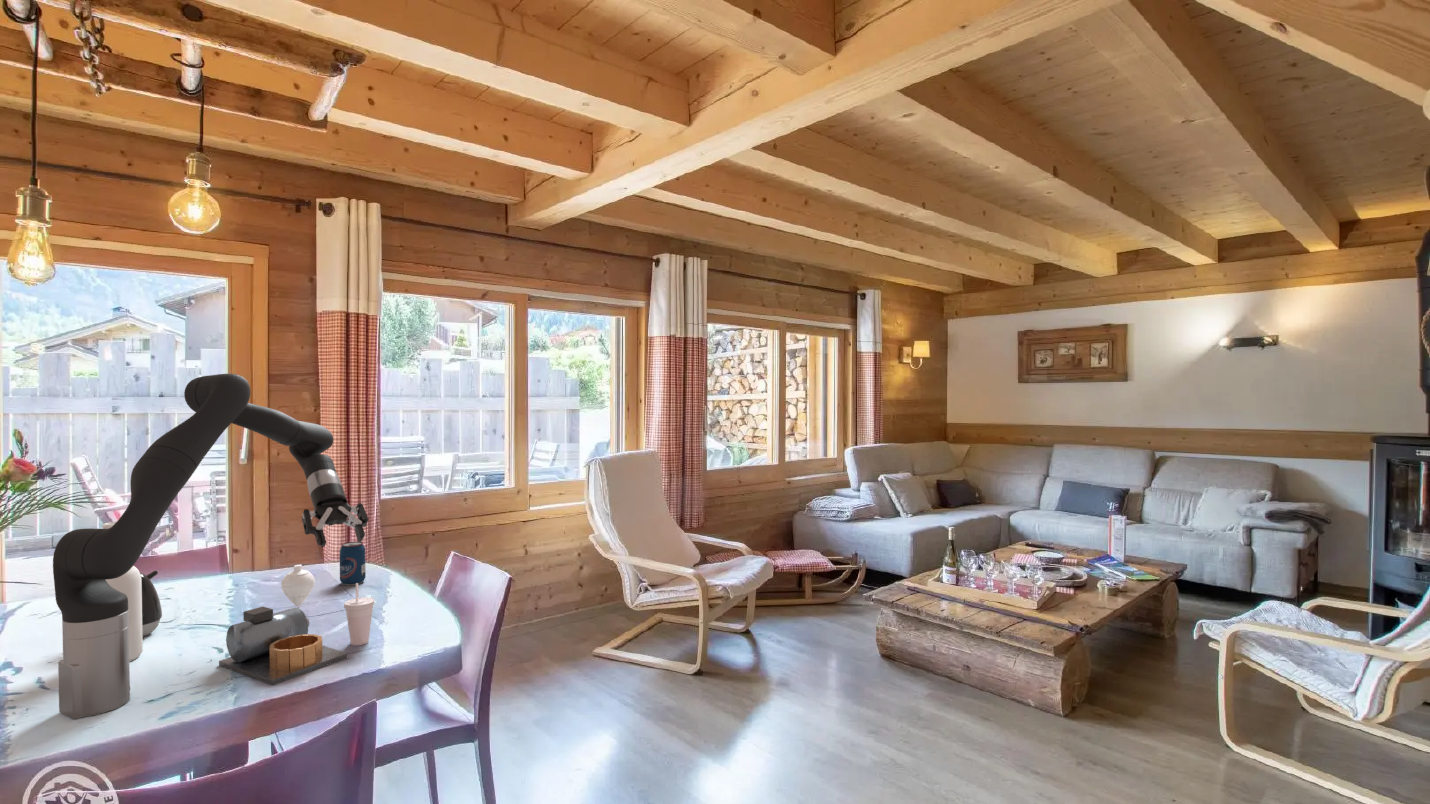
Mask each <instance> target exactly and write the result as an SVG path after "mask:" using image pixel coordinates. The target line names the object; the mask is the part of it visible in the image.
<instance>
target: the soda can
mask: <svg viewBox="0 0 1430 804" xmlns="http://www.w3.org/2000/svg"><path fill="white" fill-rule="evenodd" d="M365 580H366V547H365V545H364V542H363V541H359V542H358V540H357V541H347V542H344V543H343V542H342V544H341V546H340V549H339V581H340V583H341V584H342V585H343V586H356V583H358V585H359V584H363V582H364V581H365Z"/></svg>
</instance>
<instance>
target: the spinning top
mask: <svg viewBox="0 0 1430 804" xmlns="http://www.w3.org/2000/svg"><path fill="white" fill-rule="evenodd" d="M315 581H316V580H315V576H314V575H313V574H312V573H311V572H310V571H309V570H305V569H303V565H302V564H295V565H293V570H291V571H290V572H288V573H286V575H285V576H284V577H283V578H282V580H281V583H280V584H281V585H280V586H281V587H280V588H281V590H282V591H283V594H284V595H285V597H287V599H288V600H289V601H290V602H291V603H292V604H293V605H294V606H295V607H296V608H299V609H300V606H301V605H303V604H304V602H305V601H306V599H307V598H308V597H309V595H310V593H311V592H312V590H313V588H314V586H315Z"/></svg>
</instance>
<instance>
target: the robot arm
mask: <svg viewBox="0 0 1430 804" xmlns="http://www.w3.org/2000/svg"><path fill="white" fill-rule="evenodd" d="M250 398H251V386H250V383H249V381H248V379H246V378H245V377H243V376H242V375H239V374H236V373H218V374H211V375H203V376H198V377H196V378H193V379H191V380H190V381H189V382H188V383H187V384H186V386H185V389H184V402H186V404H187V406H188V407H189V409H191V410H192V411H193V412H194V413H193V415H191V416H190V417H188V418H187V419H186V420H184V421H183V422H181V423H180V424H178V425H176V426H175V427H173V428H172V429H170V430H169V431H167V432H165V433H164V434H163V435H162V436H160V437H158V438H157V439H156V440H155V441H154V442H153V443H152V444H151V445H150V446H149V447H148V448H147V450H146V451H145V452H144V453H143V454H142V456H141V457H140V458H139V459H138V461H137V462H136V463H135V465H134V467H133V468H132V470H131V474H130V499H129V504H128V505H127V507H126V509H125V510H124V512H122V515H121V516H120V517H119V519H117V521H115V522H116V523H115V524H114V525H113V526H112V527H111V528H109V529H103V528H78V529H74V530H73V529H72V530H70V531H68V532H66V533H65V534H63V536H62V537H61V538H60V539H59V540H58V542H57V544H56V546H55V548H54V552H53V556H52V573H53V574H52V575H53V585H54V596H55V602H56V605H57V607H58V609H59V611H60V612H61V620H62V621H61V622H62V623H61V624H62V627H61V628H62V659H60V660H59V661H58V663H57V664H58V665H57V667H58V671H57V673H58V674H57V675H58V710H59V713H60V714H62V715H64V716H66V717H69V718H70V719H71V720H76V719H79V718H83V717H89V716H95V715H99V714H102V713H107V712H110V711H113V710H115V709H118V708H120V707H122V706H124V705H126V704H127V703H128V702H129V701H130V699H131V694H130V693H131V683H130V682H131V681H130V679H131V677H130V662H129V617H128V598H127V596H126V595H125V594H124V593H122V592H120V591H117V590H116V589H114V588H112V587H111V586H110V585H109V584H108V583H107V581H106V579H114V578H118V577H120V576H122V575H124V574H125V573H127V572H128V571H129V570H130V569H131V568H132V567H133V566H134V565H135V564H136V563H137V562H138V560H139V559H140V556H141V555H142V554H143V551H144V550H145V548H146V547H147V545H148V542H149V541H150V540H151V537H152V535H153V533H154V532H155V530H156V529H157V526H158V525H159V523H160V521H161V520H162V518H163V517H164V515H165V514H166V512H167V510H168V509H169V508H170V506H171V505H172V503H173V501H175V498H176V497H177V496H178V494H179V493H180V492H181V491H182V489H183V488H184V487H185V485H186V484H187V483H188V481H189V480H190V479H191V477H192V476H193V474H194V473H195V472H196V470H197V469H198V467H199V465H200V463H202V461H203V460H204V458H205V457H206V456H207V454H208V453H209V451H210V450H211V449H212V447H213V446H214V445H215V443H216V442H217V441H218V439H219V438H220V437H221V435H222V434H223V433H224V432H225V431H226V429H228V428H229V426H230V425H232V424H233V425H236V426H239V427H242V428H244V429H247V430H250V431H253V432H254V433H257V434H260V435H261V436H263V437H265V438H268V439H270V440H272V441H273V442H276V443H278V444H281V445H283V446H287V447H288V450H289V453H290V454H291V455H292V457H293V458H294V459H295V460H296V461H297V464H299V466H300V467H301V468H302V470H303V473H304V475H305V479H306V483H307V490H308V494H309V496H310V500H311V503H312V506H313V508H314V509H313V510H309V509H308V508H306V509H304V510H303V511H302V514H301V521H302V525H303V530H304V534H305V535H310V534H311V535H313V536H314V537H315V541H316V543H317V545H318V546H320V548H325V546H326V544H327V540H326V536H325V533H324V530H323V529H324V528H325V526H326V525H328V527H330V526H334V525H343V524H344V525H345V526H347V527H351V528H352V529H354V532H355V533H354V534H355V536H356V540H357V541H358V542H363V539H364V538H365V536H366V533H365V531H364V528H365V527H367V525H368V523H369V520H370V519H369V517H368V515H367V512H366V509H365V507H364V505H363V503H362V502H359V503H357V505H352V506H351V505H349V502H348V499H347V496H346V493H345V490H344V487H343V484H342V481H341V479H340V477H339V474H338V473H337V470H336V466H335V463H334V460H333V459H332V457H331V456H330V455H328V454H322V453H324V452H325V451H327V450H328V449H330V448H331V447H332V446H333V445H334V436H333V434H332V432H331V431H330V430H329V429H328V428H326V427H325V426H323V425H320V424H317V423H313V422H307V421H302V420H297V419H296V418H293V417H291V416H290V415H288V414H286V413H285V412H282V411H280V410H277V409H274V408H270V407H266V406H264V405H263V406H262V405H258V404H254V403H251V402H249V401H250ZM356 516H357V517H356ZM313 518H316V519H317V520H319V521H318V523H317V524H316V526H313V523H312V519H313Z"/></svg>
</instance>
